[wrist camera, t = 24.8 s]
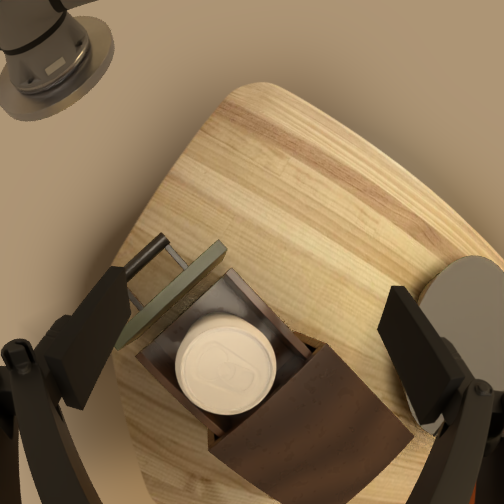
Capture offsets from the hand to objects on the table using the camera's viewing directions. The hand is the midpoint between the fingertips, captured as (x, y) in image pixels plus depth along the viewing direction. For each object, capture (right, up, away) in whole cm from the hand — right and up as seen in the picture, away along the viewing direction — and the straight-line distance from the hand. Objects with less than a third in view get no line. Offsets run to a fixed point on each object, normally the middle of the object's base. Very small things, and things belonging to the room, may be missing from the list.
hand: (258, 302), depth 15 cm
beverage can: (-4, -8, +20) cm, 22 cm away
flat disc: (+32, -13, +26) cm, 43 cm away
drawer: (-6, -6, +21) cm, 22 cm away
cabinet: (+5, -18, +21) cm, 29 cm away
